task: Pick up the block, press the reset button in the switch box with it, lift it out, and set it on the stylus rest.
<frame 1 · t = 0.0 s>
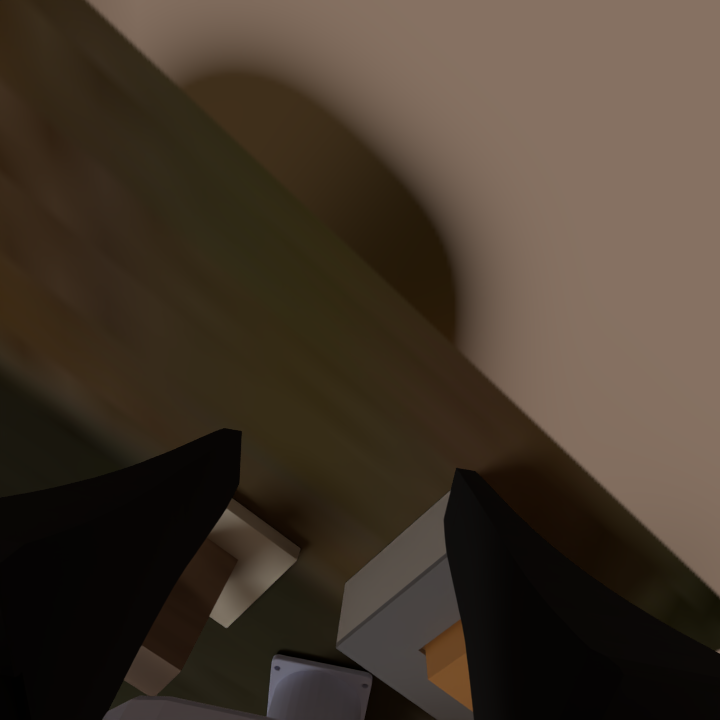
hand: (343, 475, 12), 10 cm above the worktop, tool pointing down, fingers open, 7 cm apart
block: (209, 559, 25), point 1 cm above the worktop, touching stylus rest
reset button: (479, 650, 21), point 4 cm above the worktop, slide at 0.0 cm
stylus rest: (216, 548, 26), on the worktop
switch box: (464, 584, 25), on the worktop
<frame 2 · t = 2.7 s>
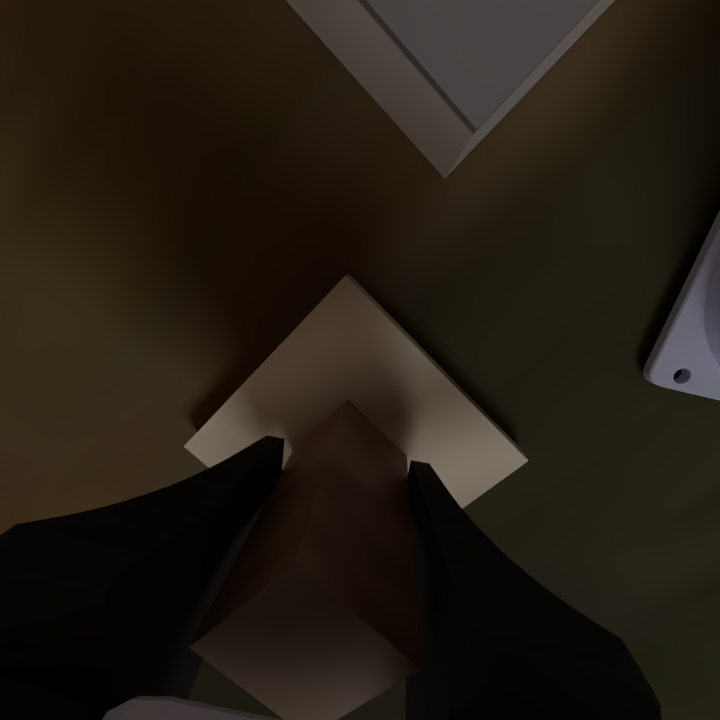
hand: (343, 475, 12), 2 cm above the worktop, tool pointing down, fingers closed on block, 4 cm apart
block: (348, 453, 13), point 1 cm above the worktop, touching gripper, stylus rest
stylus rest: (351, 439, 14), on the worktop
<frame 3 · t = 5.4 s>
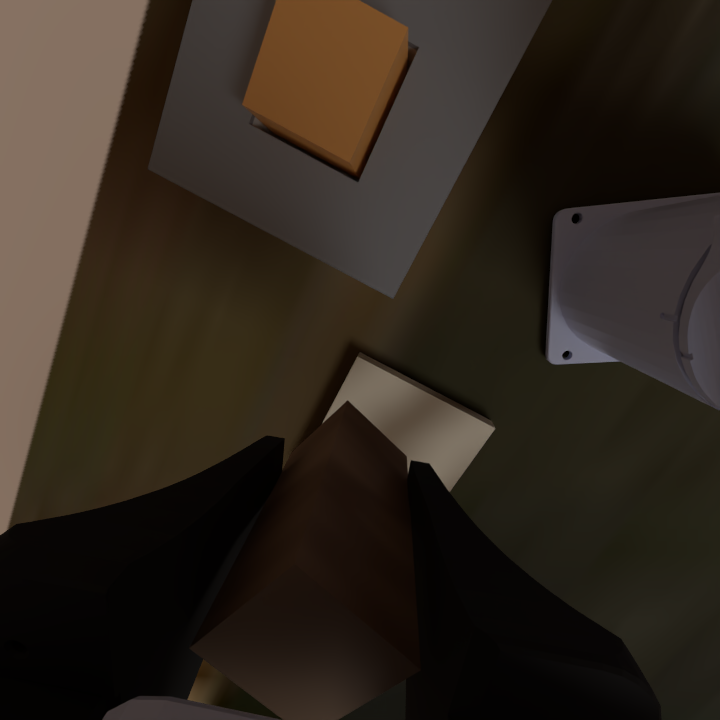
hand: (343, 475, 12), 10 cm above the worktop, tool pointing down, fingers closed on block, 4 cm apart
block: (348, 453, 13), point 9 cm above the worktop, touching gripper
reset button: (330, 88, 14), point 4 cm above the worktop, slide at 0.0 cm
stylus rest: (390, 443, 23), on the worktop
switch box: (347, 126, 18), on the worktop
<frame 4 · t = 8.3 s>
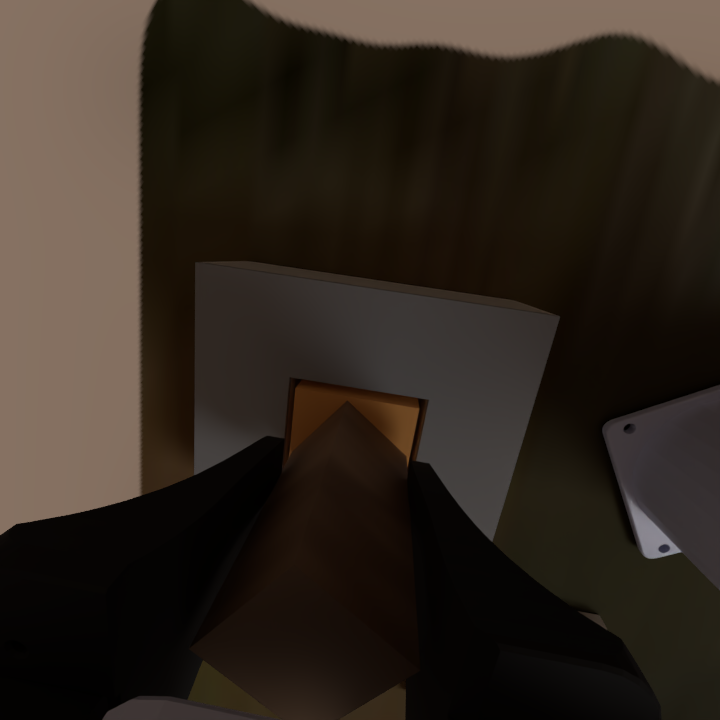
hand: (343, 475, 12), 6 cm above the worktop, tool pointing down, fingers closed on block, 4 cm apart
block: (348, 454, 13), point 5 cm above the worktop, touching gripper, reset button
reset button: (353, 432, 15), point 3 cm above the worktop, slide at 1.3 cm, touching block
switch box: (360, 403, 18), on the worktop
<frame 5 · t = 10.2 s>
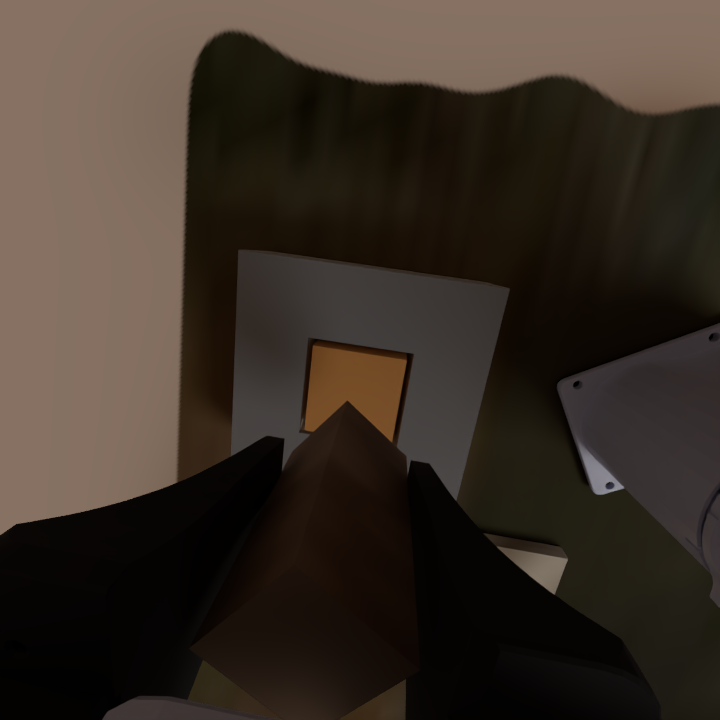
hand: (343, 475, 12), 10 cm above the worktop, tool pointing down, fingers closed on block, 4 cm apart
block: (348, 453, 13), point 9 cm above the worktop, touching gripper
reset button: (356, 385, 19), point 3 cm above the worktop, slide at 1.3 cm
stylus rest: (477, 586, 25), on the worktop
switch box: (361, 367, 22), on the worktop
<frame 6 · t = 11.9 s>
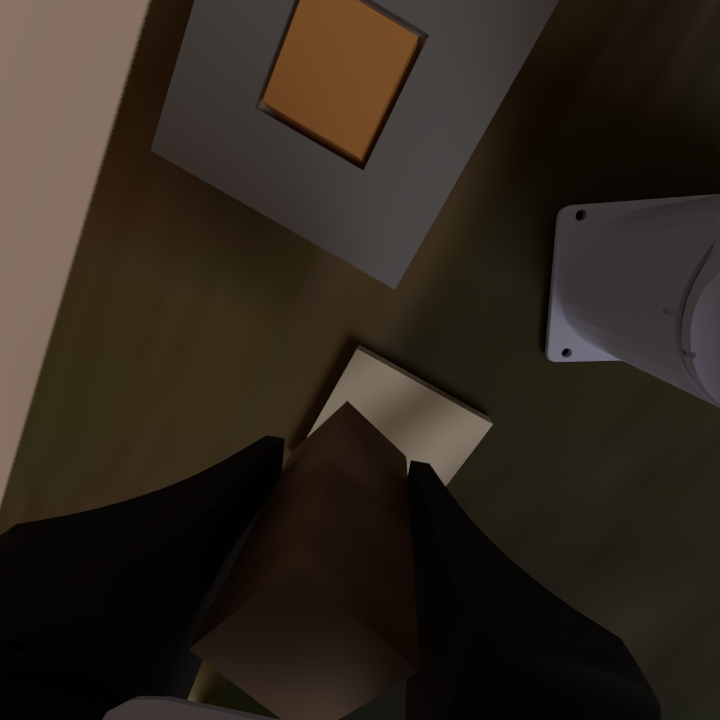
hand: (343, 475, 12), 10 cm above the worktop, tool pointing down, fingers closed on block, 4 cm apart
block: (348, 454, 13), point 9 cm above the worktop, touching gripper
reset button: (343, 88, 15), point 3 cm above the worktop, slide at 1.3 cm
stylus rest: (387, 437, 23), on the worktop
switch box: (353, 116, 18), on the worktop
when the fingers open (3 cm above the worktop, at t = 15.3 s): block stays where it is, resting on stylus rest.
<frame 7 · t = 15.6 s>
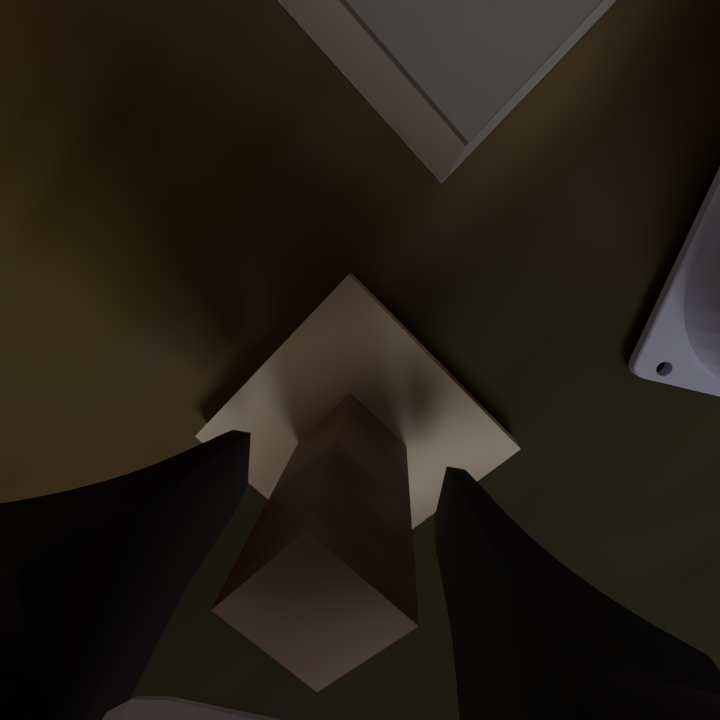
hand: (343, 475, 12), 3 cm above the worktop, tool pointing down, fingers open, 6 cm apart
block: (351, 443, 14), point 1 cm above the worktop, touching stylus rest
stylus rest: (353, 430, 15), on the worktop
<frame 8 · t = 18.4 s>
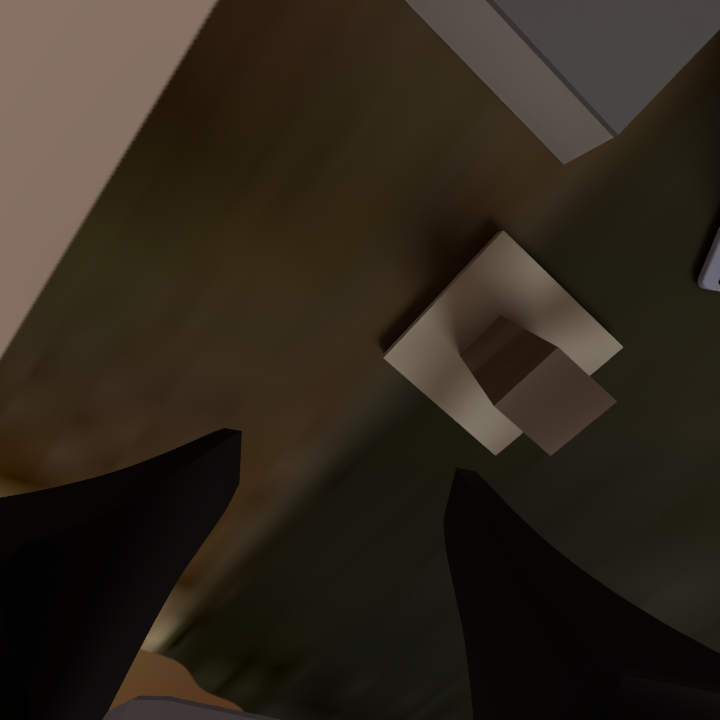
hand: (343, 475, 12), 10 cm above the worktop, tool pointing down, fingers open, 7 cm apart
block: (499, 353, 20), point 1 cm above the worktop, touching stylus rest
stylus rest: (494, 348, 21), on the worktop
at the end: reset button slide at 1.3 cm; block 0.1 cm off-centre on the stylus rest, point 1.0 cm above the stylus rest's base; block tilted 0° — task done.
